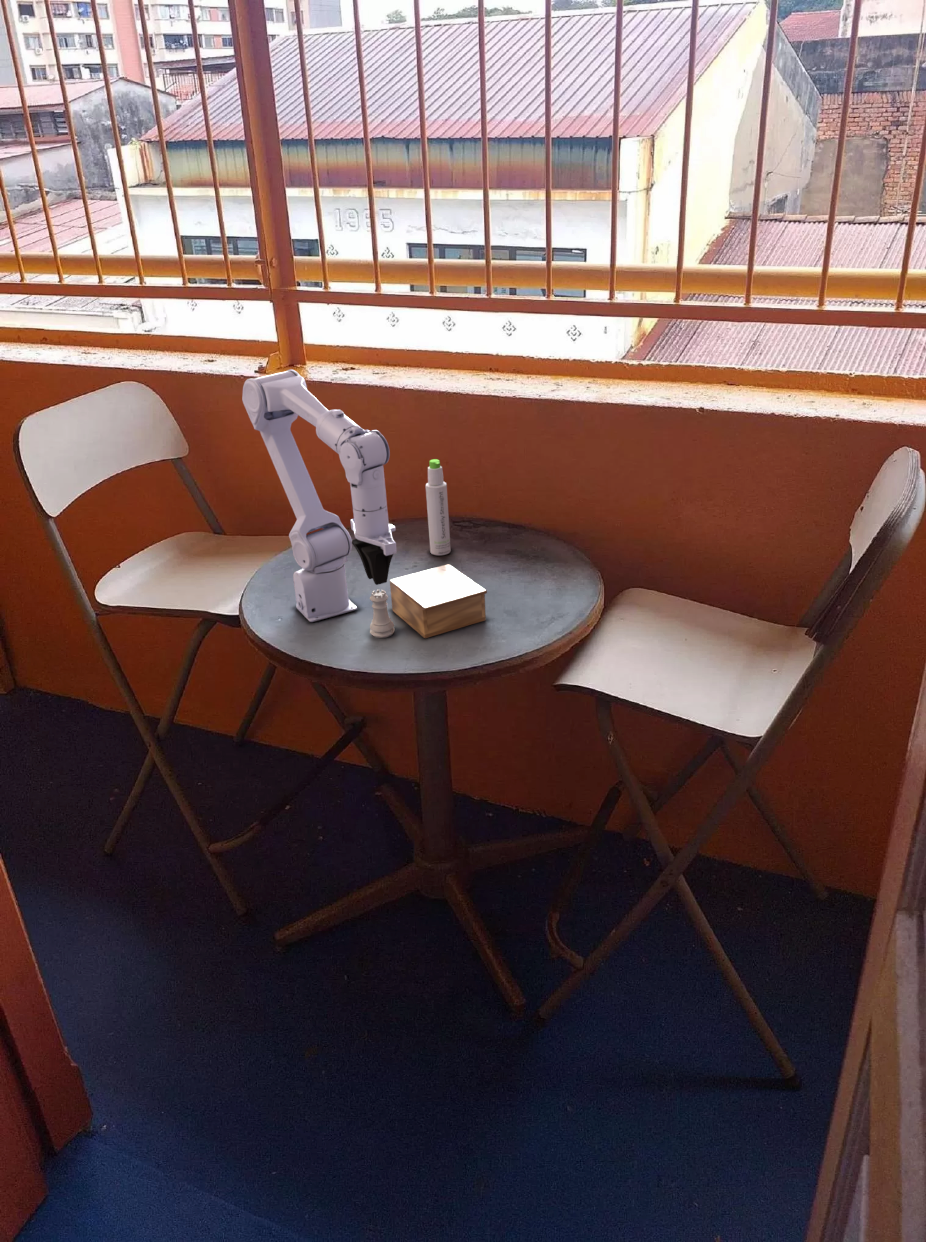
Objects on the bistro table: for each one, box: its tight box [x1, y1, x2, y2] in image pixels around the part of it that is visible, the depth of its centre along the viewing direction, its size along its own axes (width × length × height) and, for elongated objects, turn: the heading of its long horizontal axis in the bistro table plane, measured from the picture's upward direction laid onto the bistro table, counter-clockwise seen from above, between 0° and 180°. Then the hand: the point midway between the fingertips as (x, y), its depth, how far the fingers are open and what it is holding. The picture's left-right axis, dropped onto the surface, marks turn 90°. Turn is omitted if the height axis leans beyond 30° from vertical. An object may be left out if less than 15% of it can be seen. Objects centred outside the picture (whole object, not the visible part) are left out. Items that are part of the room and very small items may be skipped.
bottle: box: [425, 458, 452, 556], centre depth 192 cm, size 4×4×20 cm
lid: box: [389, 563, 488, 611], centre depth 166 cm, size 14×12×1 cm
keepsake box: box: [389, 582, 487, 639], centre depth 168 cm, size 13×12×6 cm
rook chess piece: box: [369, 589, 396, 639], centre depth 162 cm, size 4×4×8 cm
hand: (377, 580), depth 159 cm, fingers closed
